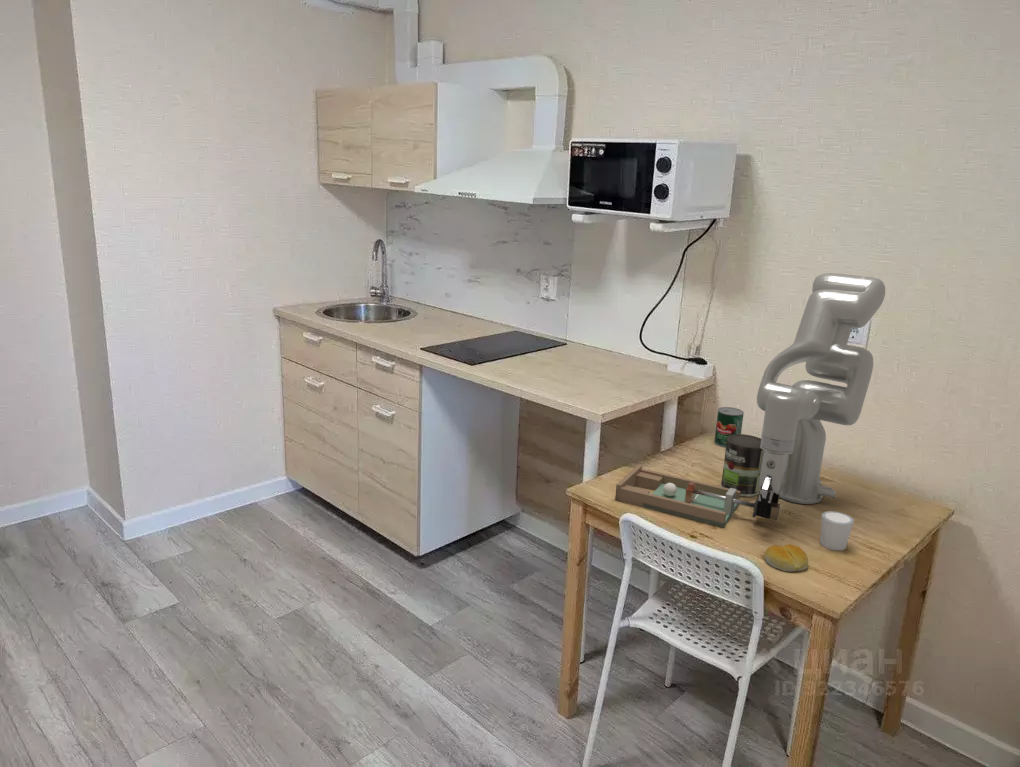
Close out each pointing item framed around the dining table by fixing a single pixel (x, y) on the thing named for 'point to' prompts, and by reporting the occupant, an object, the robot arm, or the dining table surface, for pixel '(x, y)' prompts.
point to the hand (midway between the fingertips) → (766, 510)
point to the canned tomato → (728, 424)
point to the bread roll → (787, 558)
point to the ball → (669, 489)
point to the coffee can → (742, 464)
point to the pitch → (677, 496)
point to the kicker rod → (692, 491)
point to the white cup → (835, 530)
